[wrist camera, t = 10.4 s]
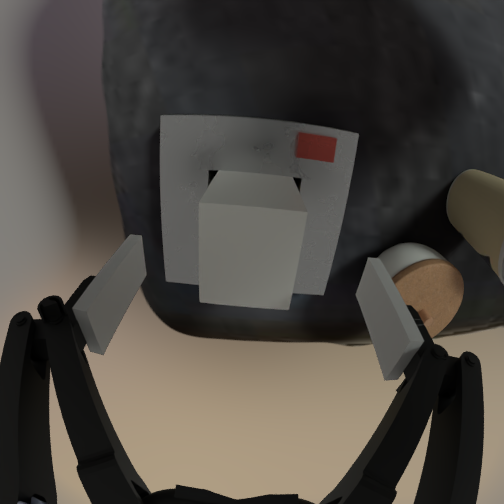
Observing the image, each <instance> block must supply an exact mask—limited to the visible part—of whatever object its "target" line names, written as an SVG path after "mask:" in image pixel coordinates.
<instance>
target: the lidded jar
mask: <svg viewBox="0 0 504 504" xmlns="http://www.w3.org/2000/svg"><path fill="white" fill-rule="evenodd" d="M377 258H380V260H381V262H382V263H383V265H384V267H385V268H386V270H387V272H388V274H389V275H390V277H391V279H392V281H393V282H394V284H395V286H396V288H397V289H398V291H399V293H400V295H401V297H402V299H403V300H404V302H405V304H406V305H411V306H412V307H413V308H414V309H415V310H416V311H417V312H418V313H419V315H420V317H421V320H422V321H423V323H424V326H425V327H426V329H427V330H428V332H429V334H430V336H431V338H432V337H434V336H435V335H436V334H438V333H439V332H440V331H441V330H442V329H444V328H445V327H446V325H447V324H448V323H449V322H450V321H451V320H452V318H453V317H454V315H455V314H456V312H457V311H458V308H459V306H460V304H461V301H462V298H463V292H464V284H463V279H462V276H461V274H460V272H459V271H458V270H457V269H456V268H455V267H454V266H453V265H452V264H451V263H450V262H448V261H447V260H446V259H445V258H444V257H443V256H442V255H441V254H440V253H438V252H437V251H435V250H434V249H432V248H430V247H428V246H426V245H423V244H419V243H411V242H409V243H401V244H398V245H395V246H393V247H390V248H389V249H387V250H385V251H384V252H382V253H381V254H380V255H379V256H378V257H377Z"/></svg>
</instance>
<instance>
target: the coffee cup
mask: <svg viewBox="0 0 504 504" xmlns="http://www.w3.org/2000/svg"><path fill="white" fill-rule="evenodd" d="M446 210H447V215H448V218H449V221H450V222H451V224H452V225H453V226H454V227H455V228H456V230H457V231H458V232H459V233H460V234H461V235H462V236H463V237H464V238H465V239H466V240H467V241H468V242H469V243H470V244H471V245H472V247H473V248H474V249H475V250H476V251H477V252H478V253H479V254H480V255H481V257H482V258H483V259H484V260H485V261H486V262H487V263H488V265H489V266H490V267H491V268H492V269H493V270H494V272H495V273H496V274H497V275H498V276H499V277H500V280H501V282H502V283H503V284H504V180H503V179H501V178H498V177H496V176H493V175H491V174H488V173H485V172H482V171H479V170H475V169H469V170H466V171H464V172H462V173H460V174H459V175H458V176H457V177H456V178H455V180H454V181H453V183H452V185H451V187H450V189H449V192H448V196H447V202H446Z"/></svg>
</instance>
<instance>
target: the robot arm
mask: <svg viewBox="0 0 504 504" xmlns="http://www.w3.org/2000/svg"><path fill="white" fill-rule="evenodd" d="M146 275H147V273H146V266H145V259H144V251H143V242H142V235H131V234H130V235H129V236H128V238H127V239H126V240H125V241H124V242H123V244H122V245H121V246H120V247H119V248H118V250H117V251H116V252H115V253H114V254H113V256H112V257H111V258H110V259H109V261H108V262H107V263H106V264H105V266H104V267H103V268H102V269H101V271H100V272H99V273H98V274H97V276H89V277H88V278H86V279H85V280H83V282H82V283H81V284H80V285H79V287H78V288H77V289H76V290H75V292H74V293H73V294H72V296H71V297H70V298H69V300H68V301H67V302H66V304H65V305H64V303H63V301H62V299H61V297H59V296H54V295H53V296H49V297H46V298H44V299H43V300H42V301H41V302H40V303H39V304H38V308H37V309H38V312H39V314H40V316H41V318H42V319H33V318H32V316H31V314H30V313H29V312H27V311H22V312H19V313H17V314H16V315H14V316H13V318H12V319H11V321H10V325H9V328H8V332H7V336H6V340H5V344H4V348H3V353H2V357H1V362H0V504H57V493H56V485H55V479H54V472H53V464H52V455H51V443H50V425H49V384H50V368H51V372H52V377H53V382H54V386H55V391H56V395H57V398H58V402H59V406H60V409H61V413H62V417H63V420H64V423H65V426H66V429H67V432H68V435H69V438H70V441H71V444H72V447H73V449H74V452H75V455H76V457H77V460H78V465H77V472H78V475H79V478H80V480H81V482H82V484H83V487H84V489H85V491H86V493H87V495H88V497H89V499H90V501H91V503H92V504H314V503H312V502H309V501H307V500H303V499H299V498H298V494H285V495H284V494H283V495H282V494H280V495H273V494H269V495H263V496H258V497H253V498H246V499H239V500H236V499H232V498H229V497H226V496H223V495H220V494H217V493H213V492H211V491H208V490H205V489H198V488H192V487H186V486H181V485H176V489H166V490H161V491H157V492H154V493H151V492H150V491H149V489H148V488H147V486H146V485H145V483H144V482H143V480H142V479H141V478H140V476H139V475H138V474H137V472H136V470H135V469H134V467H133V465H132V464H131V462H130V460H129V458H128V456H127V454H126V452H125V450H124V448H123V446H122V444H121V442H120V440H119V438H118V436H117V434H116V432H115V430H114V428H113V425H112V423H111V421H110V419H109V417H108V414H107V412H106V409H105V407H104V405H103V402H102V400H101V397H100V395H99V392H98V389H97V387H96V384H95V381H94V378H93V376H92V373H91V370H90V367H89V364H88V361H87V358H86V355H85V352H84V350H83V349H84V347H85V345H86V343H87V345H88V348H89V350H90V352H94V353H98V354H101V355H104V353H105V351H106V349H107V347H108V345H109V343H110V341H111V339H112V337H113V334H114V333H115V331H116V329H117V327H118V325H119V324H120V322H121V320H122V318H123V316H124V314H125V312H126V310H127V309H128V307H129V305H130V303H131V301H132V300H133V298H134V296H135V294H136V292H137V291H138V289H139V287H140V286H141V284H142V282H143V280H144V279H145V277H146ZM356 297H357V300H358V303H359V305H360V308H361V311H362V313H363V316H364V319H365V322H366V325H367V328H368V330H369V333H370V336H371V339H372V342H373V345H374V348H375V351H376V354H377V357H378V360H379V364H380V367H381V370H382V373H383V376H384V380H397V379H398V378H399V377H400V376H401V374H402V373H403V372H404V374H405V377H406V378H405V379H404V381H403V382H402V384H401V385H400V386H399V387H398V389H397V390H396V391H397V394H396V396H395V398H394V400H393V401H392V403H391V405H390V407H389V409H388V410H387V412H386V414H385V416H384V418H383V419H382V421H381V423H380V424H379V426H378V428H377V429H376V431H375V433H374V434H373V436H372V437H371V439H370V440H369V442H368V444H367V445H366V446H365V448H364V449H363V451H362V452H361V454H360V455H359V457H358V458H357V460H356V461H355V462H354V464H353V465H352V467H351V468H350V469H349V471H348V472H347V473H346V475H345V476H344V477H343V479H342V480H341V481H340V482H339V484H338V485H337V486H336V487H335V489H334V490H333V491H332V492H330V493H329V494H328V495H327V496H326V497H325V498H324V499H323V500H322V501H321V502H320V504H392V502H393V501H394V499H395V497H396V494H397V492H396V490H395V488H396V485H397V483H398V482H399V480H400V478H401V476H402V475H403V473H404V471H405V469H406V467H407V465H408V463H409V461H410V459H411V457H412V455H413V453H414V451H415V449H416V447H417V445H418V443H419V441H420V438H421V436H422V434H423V432H424V429H425V427H426V425H427V422H428V419H429V417H430V415H431V412H432V410H433V413H432V421H431V428H430V435H429V441H428V447H427V452H426V457H425V462H424V466H423V471H422V475H421V479H420V483H419V487H418V490H417V494H416V497H415V501H414V504H476V501H477V495H478V489H479V483H480V475H481V467H482V456H483V438H484V401H483V384H482V372H481V364H480V360H479V359H478V357H477V356H476V355H475V354H473V353H471V352H467V351H466V352H463V354H462V355H461V356H460V358H457V357H452V356H448V353H447V351H446V350H445V349H444V348H443V347H441V346H440V345H437V344H434V342H433V340H432V338H431V336H430V334H429V332H428V330H427V329H426V327H425V326H424V323H423V321H422V320H421V317H420V315H419V313H418V312H417V311H416V310H415V309H414V308H413V307H412V306H411V305H406V304H405V302H404V300H403V299H402V297H401V295H400V293H399V291H398V289H397V288H396V286H395V284H394V282H393V281H392V279H391V277H390V275H389V274H388V272H387V270H386V268H385V267H384V265H383V263H382V262H381V260H380V258H370V257H368V260H367V263H366V266H365V269H364V272H363V275H362V278H361V281H360V283H359V286H358V289H357V292H356Z"/></svg>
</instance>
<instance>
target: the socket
mask: <svg viewBox="0 0 504 504" xmlns="http://www.w3.org/2000/svg"><path fill="white" fill-rule="evenodd" d="M358 137H359V134H358V133H355V132H352V131H349V130H344V129H339V128H334V127H328V126H322V125H316V124H310V123H303V122H296V121H288V120H280V119H271V118H261V117H249V116H234V115H214V114H168V115H161V123H160V196H161V221H162V238H163V252H164V265H165V276H166V281H167V282H176V283H185V284H194V285H199V201H200V200H201V198H202V196H203V195H204V193H205V191H206V190H207V188H208V186H209V185H210V183H211V182H212V180H213V178H214V170H224V171H237V172H250V173H261V174H271V175H280V176H289V177H295V178H296V186H297V188H298V191H299V193H300V195H301V197H302V200H303V202H304V205H305V207H306V209H307V212H308V213H307V219H306V225H305V230H304V236H303V241H302V247H301V252H300V257H299V262H298V268H297V273H296V278H295V282H294V287H293V292H292V293H298V294H314V295H324V292H325V288H326V285H327V281H328V277H329V274H330V270H331V266H332V262H333V258H334V254H335V250H336V246H337V242H338V238H339V234H340V229H341V225H342V221H343V216H344V212H345V207H346V202H347V197H348V193H349V188H350V182H351V177H352V172H353V166H354V161H355V155H356V149H357V143H358Z"/></svg>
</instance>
